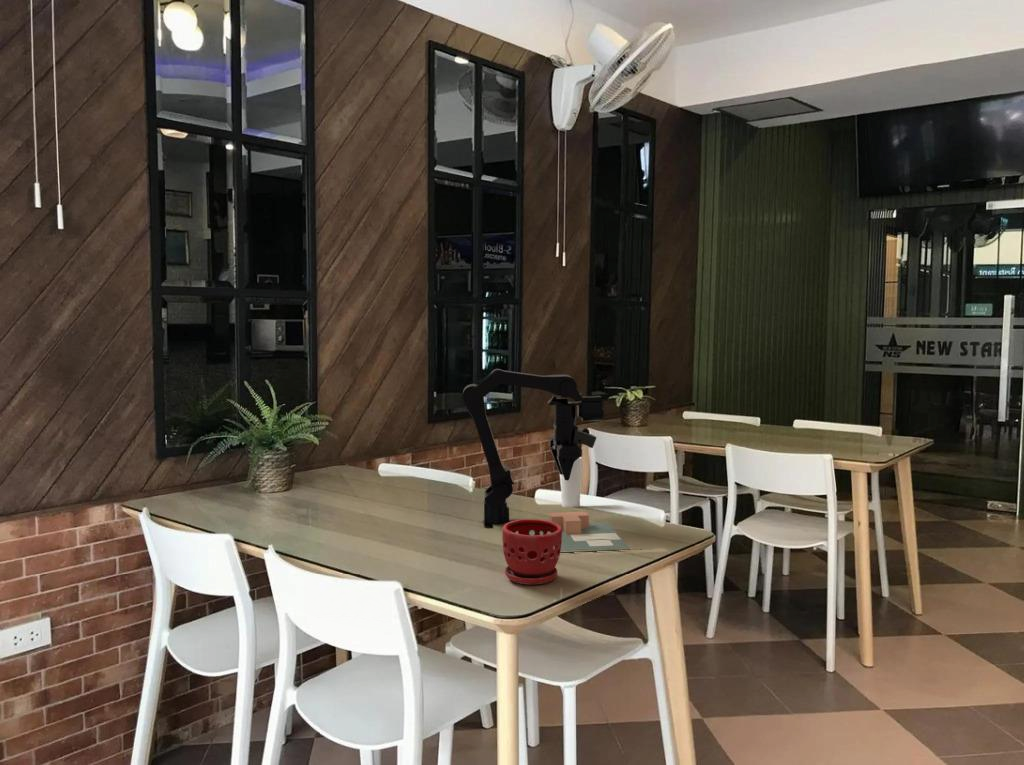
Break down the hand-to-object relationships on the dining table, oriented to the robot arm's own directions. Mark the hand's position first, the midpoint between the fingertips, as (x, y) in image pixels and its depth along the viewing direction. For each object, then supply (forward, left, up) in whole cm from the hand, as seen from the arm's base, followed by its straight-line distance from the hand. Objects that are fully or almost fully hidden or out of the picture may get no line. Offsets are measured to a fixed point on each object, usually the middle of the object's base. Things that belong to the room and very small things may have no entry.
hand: (564, 477), depth 233 cm
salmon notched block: (0, -10, -12) cm, 15 cm away
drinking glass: (+5, +17, -13) cm, 22 cm away
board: (0, -16, -13) cm, 21 cm away
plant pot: (-15, -46, -13) cm, 50 cm away
